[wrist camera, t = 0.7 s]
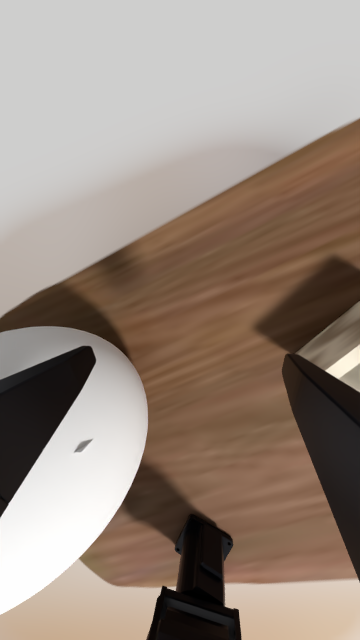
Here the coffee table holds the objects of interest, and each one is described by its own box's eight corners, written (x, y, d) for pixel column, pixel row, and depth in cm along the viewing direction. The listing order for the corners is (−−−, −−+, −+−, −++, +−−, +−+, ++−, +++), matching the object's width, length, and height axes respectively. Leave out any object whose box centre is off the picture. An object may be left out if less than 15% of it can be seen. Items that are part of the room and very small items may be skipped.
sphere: (152, 306, 25) (-92, 305, 5) (182, 442, 25) (66, 912, 6) (40, 332, 29) (-334, 387, 9) (67, 448, 29) (-229, 732, 10)
